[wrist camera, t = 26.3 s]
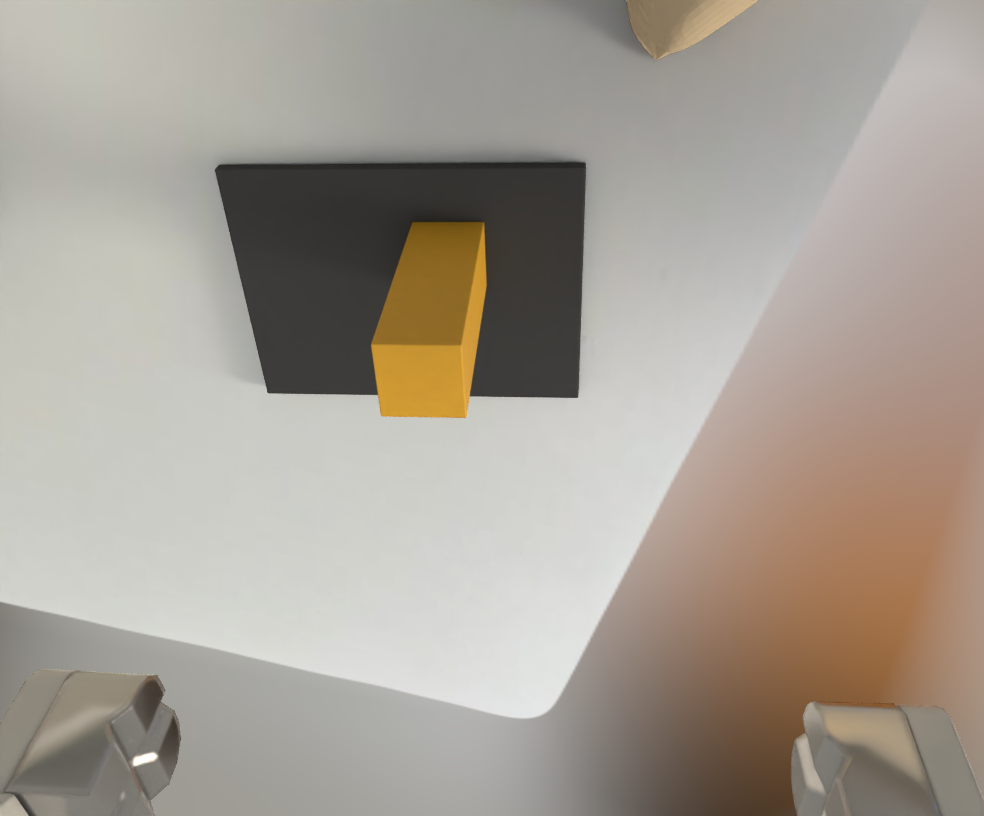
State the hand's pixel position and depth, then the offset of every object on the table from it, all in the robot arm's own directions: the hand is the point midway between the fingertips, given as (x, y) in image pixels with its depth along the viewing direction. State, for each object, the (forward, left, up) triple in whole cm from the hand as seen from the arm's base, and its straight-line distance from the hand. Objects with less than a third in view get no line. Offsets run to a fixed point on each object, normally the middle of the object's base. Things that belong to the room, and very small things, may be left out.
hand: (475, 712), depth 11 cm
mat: (+6, +10, -29) cm, 31 cm away
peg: (+4, +8, -28) cm, 30 cm away
